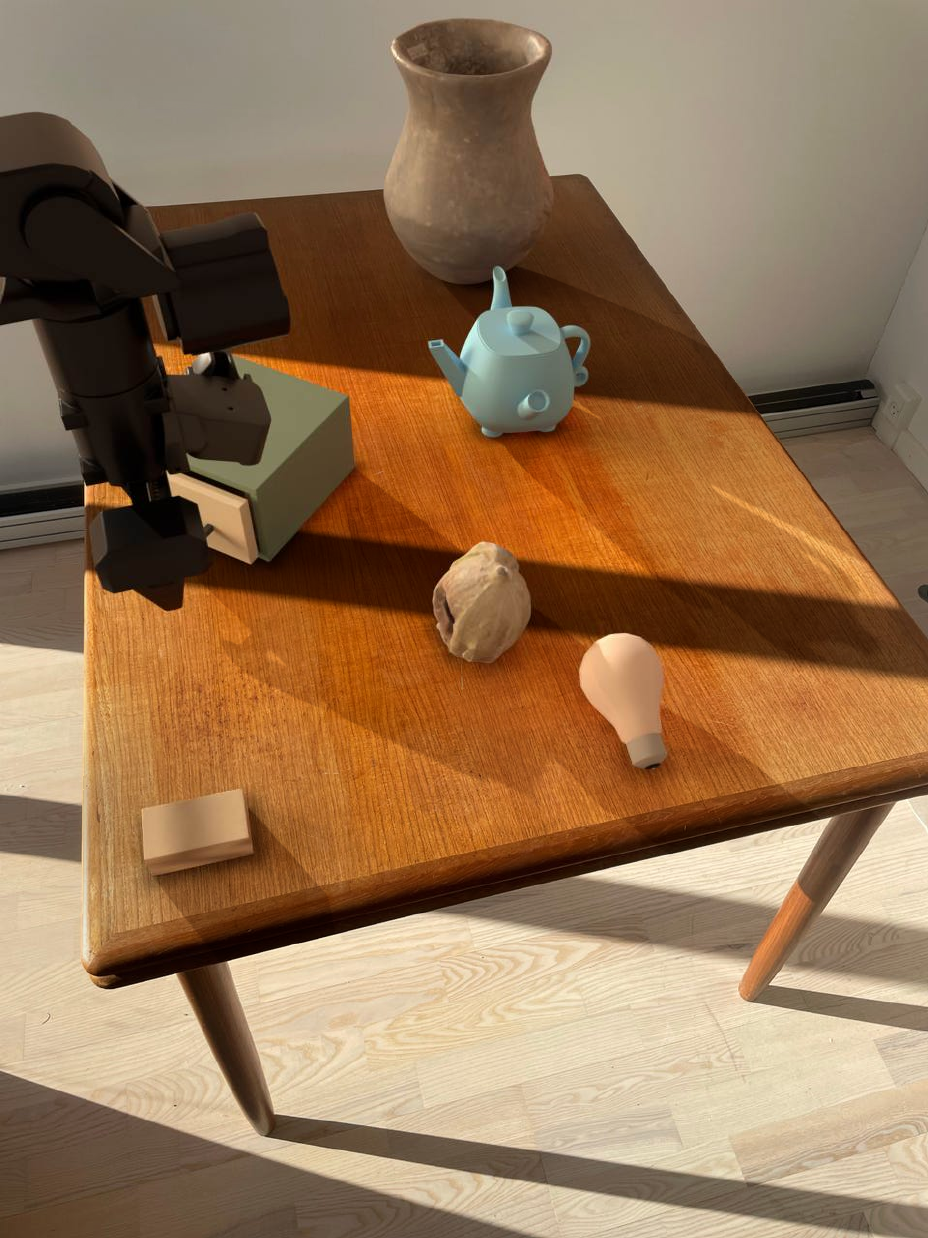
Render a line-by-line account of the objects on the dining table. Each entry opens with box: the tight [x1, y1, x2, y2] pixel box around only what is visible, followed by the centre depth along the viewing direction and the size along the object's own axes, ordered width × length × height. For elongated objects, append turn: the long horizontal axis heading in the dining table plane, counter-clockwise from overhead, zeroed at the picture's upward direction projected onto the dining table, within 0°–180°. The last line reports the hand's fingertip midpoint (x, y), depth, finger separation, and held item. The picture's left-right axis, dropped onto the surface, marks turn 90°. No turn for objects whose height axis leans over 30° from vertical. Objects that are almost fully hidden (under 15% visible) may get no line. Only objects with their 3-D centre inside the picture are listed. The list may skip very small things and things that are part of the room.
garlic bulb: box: [432, 541, 532, 664], centre depth 78 cm, size 9×8×10 cm
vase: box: [383, 17, 555, 285], centre depth 109 cm, size 20×19×25 cm
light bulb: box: [578, 632, 669, 771], centre depth 74 cm, size 7×7×11 cm
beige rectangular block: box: [141, 788, 255, 877], centre depth 68 cm, size 7×4×2 cm, turn 105°
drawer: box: [167, 471, 259, 565], centre depth 87 cm, size 18×12×7 cm
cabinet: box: [186, 354, 356, 563], centre depth 89 cm, size 15×14×9 cm
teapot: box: [427, 266, 591, 438], centre depth 97 cm, size 15×14×11 cm
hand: (164, 559), depth 66 cm, fingers open, 9 cm apart
